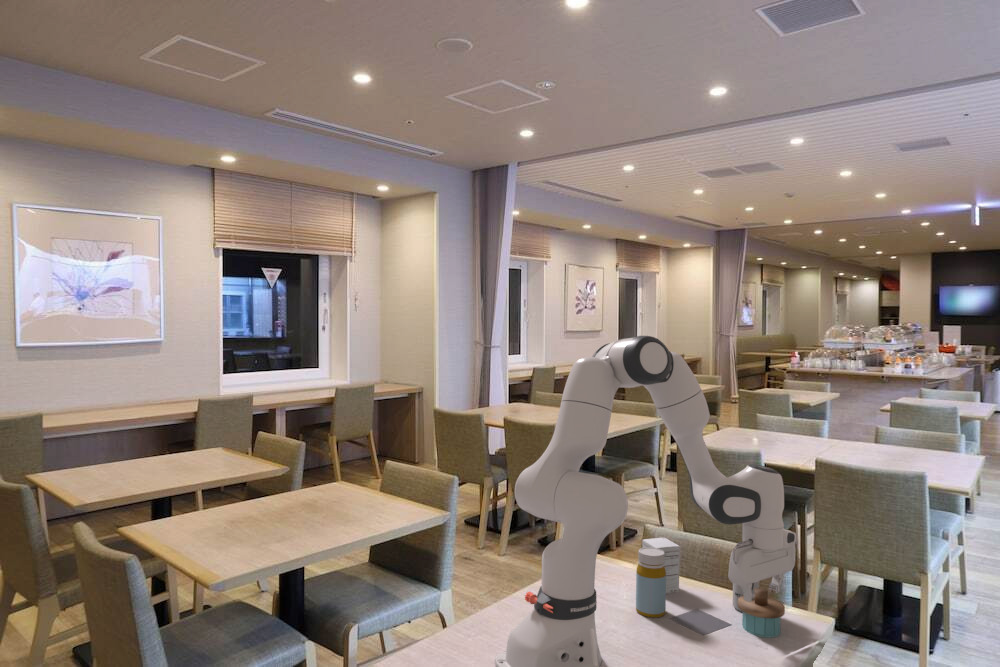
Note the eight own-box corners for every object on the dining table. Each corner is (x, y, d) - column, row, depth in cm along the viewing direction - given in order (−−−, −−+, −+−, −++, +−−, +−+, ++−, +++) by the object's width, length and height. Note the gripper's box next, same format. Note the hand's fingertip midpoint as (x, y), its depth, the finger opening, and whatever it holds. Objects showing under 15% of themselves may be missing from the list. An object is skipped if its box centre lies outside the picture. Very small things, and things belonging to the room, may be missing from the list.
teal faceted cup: (766, 642, 143) (766, 619, 143) (735, 627, 150) (735, 606, 150) (787, 633, 147) (787, 611, 147) (756, 619, 154) (757, 598, 154)
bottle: (666, 620, 153) (667, 557, 153) (635, 617, 154) (636, 555, 154) (664, 608, 160) (665, 548, 160) (635, 605, 161) (636, 545, 161)
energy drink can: (733, 613, 157) (734, 552, 157) (731, 603, 163) (732, 544, 163) (760, 616, 156) (761, 554, 156) (756, 606, 162) (757, 546, 162)
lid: (767, 622, 142) (767, 603, 142) (728, 605, 150) (728, 587, 150) (793, 611, 147) (794, 593, 147) (755, 596, 156) (755, 579, 156)
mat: (703, 636, 145) (703, 635, 145) (669, 619, 153) (669, 618, 153) (731, 626, 151) (731, 624, 151) (697, 610, 159) (697, 608, 159)
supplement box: (640, 585, 174) (641, 538, 174) (664, 582, 176) (665, 536, 176) (655, 596, 167) (655, 547, 167) (680, 593, 169) (680, 545, 169)
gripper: (746, 547, 140) (745, 611, 140) (801, 533, 151) (800, 592, 151) (721, 539, 145) (720, 601, 145) (776, 526, 157) (775, 583, 157)
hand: (761, 596), depth 148 cm, fingers open, 8 cm apart
